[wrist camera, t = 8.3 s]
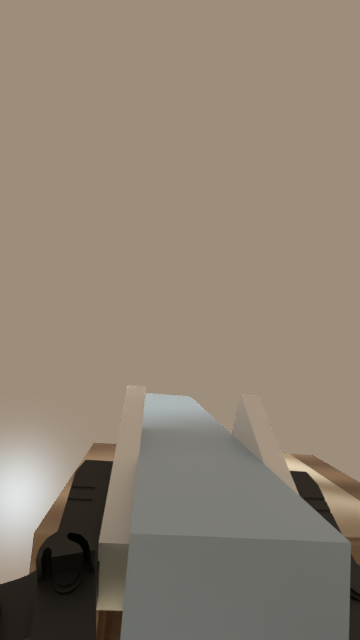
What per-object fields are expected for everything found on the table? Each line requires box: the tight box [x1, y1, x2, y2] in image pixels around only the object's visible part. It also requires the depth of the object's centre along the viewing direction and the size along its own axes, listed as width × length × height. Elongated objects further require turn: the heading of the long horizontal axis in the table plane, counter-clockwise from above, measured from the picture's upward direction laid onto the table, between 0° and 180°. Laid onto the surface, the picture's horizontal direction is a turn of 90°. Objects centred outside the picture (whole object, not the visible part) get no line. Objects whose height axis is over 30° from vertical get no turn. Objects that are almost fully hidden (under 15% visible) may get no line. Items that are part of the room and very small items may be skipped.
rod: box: [120, 393, 351, 640], centre depth 18 cm, size 25×4×4 cm, turn 5°
